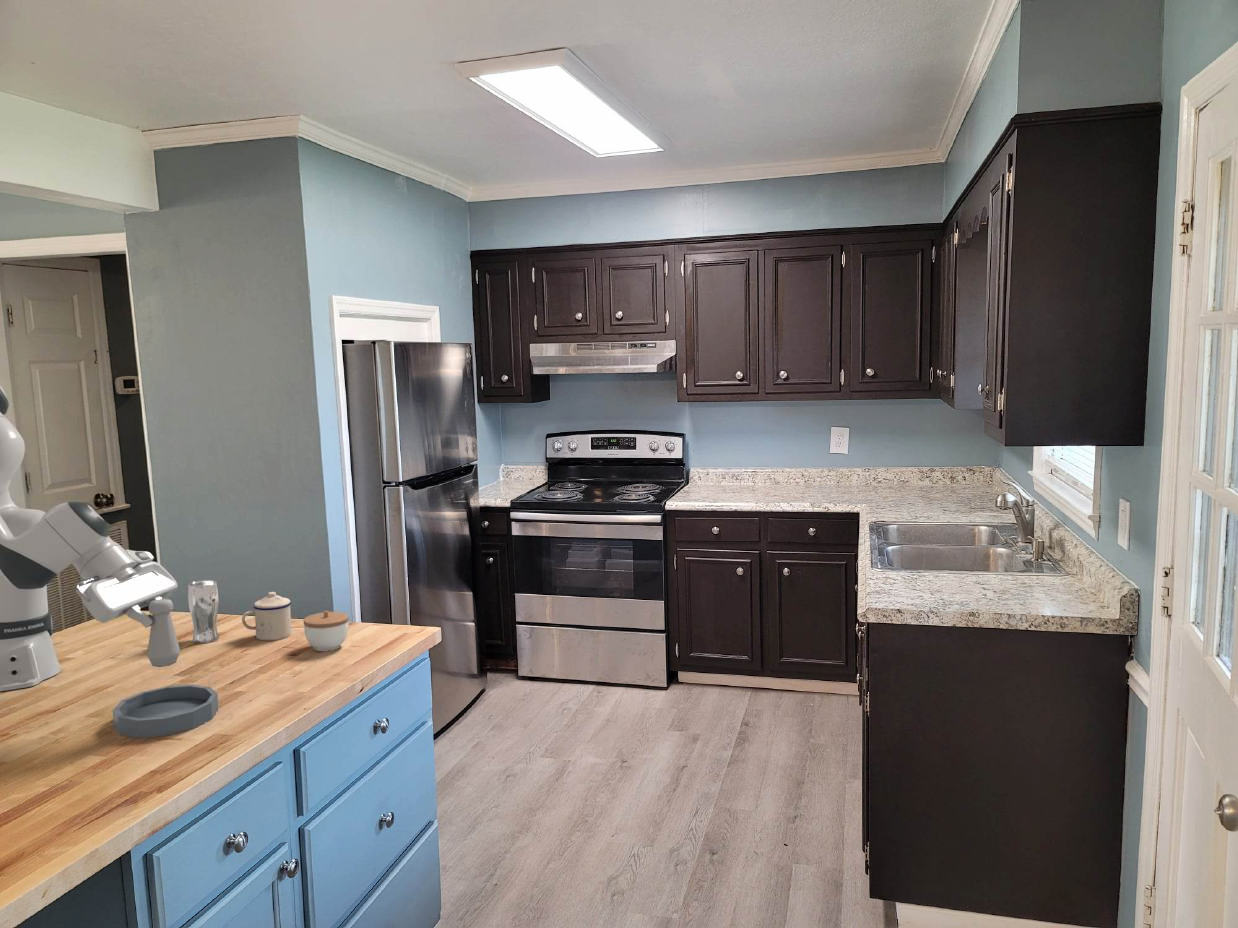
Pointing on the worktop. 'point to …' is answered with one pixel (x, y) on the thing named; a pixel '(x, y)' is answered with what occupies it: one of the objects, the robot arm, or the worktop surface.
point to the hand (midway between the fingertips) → (158, 621)
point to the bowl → (165, 711)
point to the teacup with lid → (271, 618)
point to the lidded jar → (326, 630)
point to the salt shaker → (162, 635)
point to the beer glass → (203, 610)
